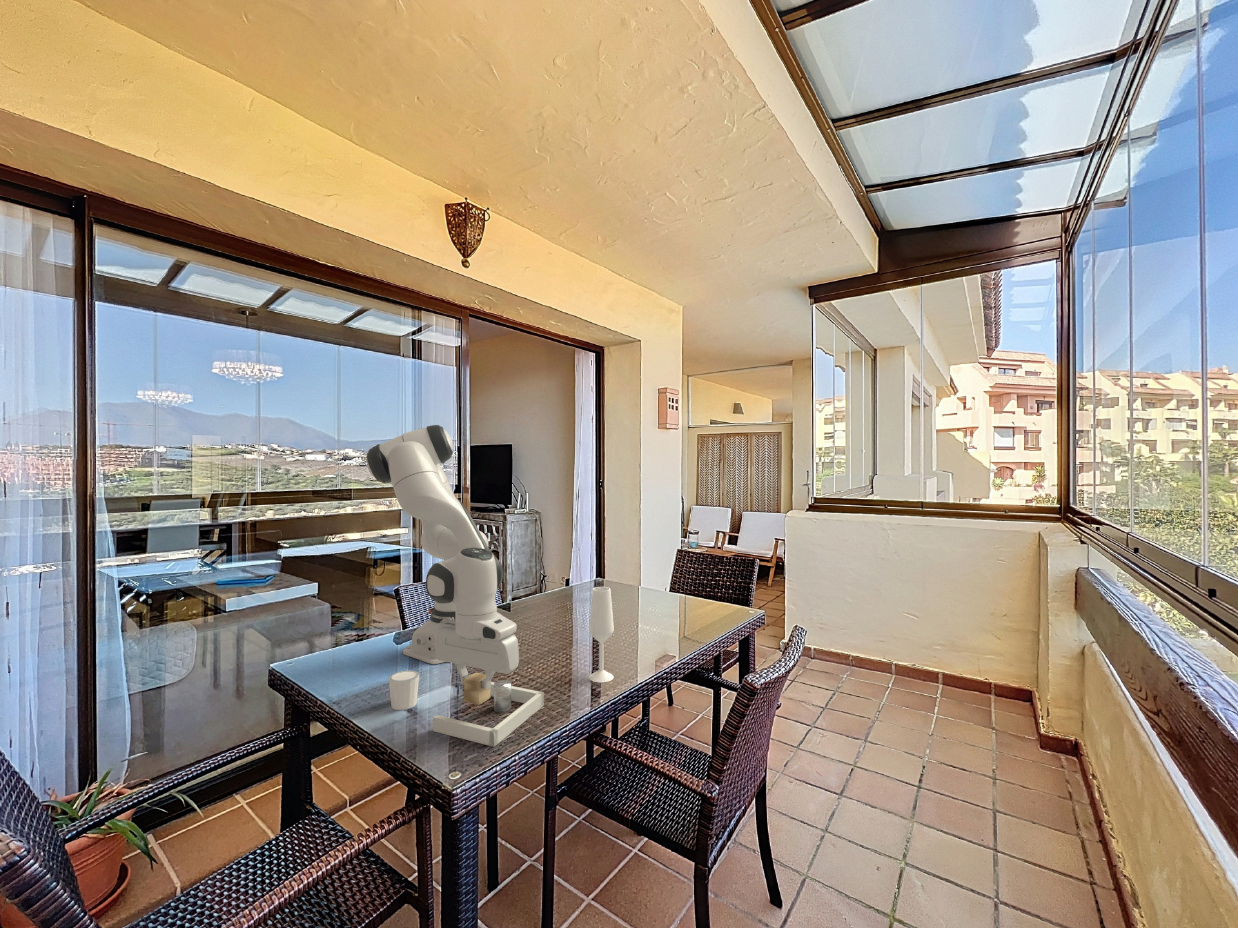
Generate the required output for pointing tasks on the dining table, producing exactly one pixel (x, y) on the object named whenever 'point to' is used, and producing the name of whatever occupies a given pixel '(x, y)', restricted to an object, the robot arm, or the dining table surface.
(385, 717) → the dining table surface
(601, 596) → the champagne flute
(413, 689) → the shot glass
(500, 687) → the steel part
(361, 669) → the dining table surface
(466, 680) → the oak block
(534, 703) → the frame
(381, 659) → the dining table surface
